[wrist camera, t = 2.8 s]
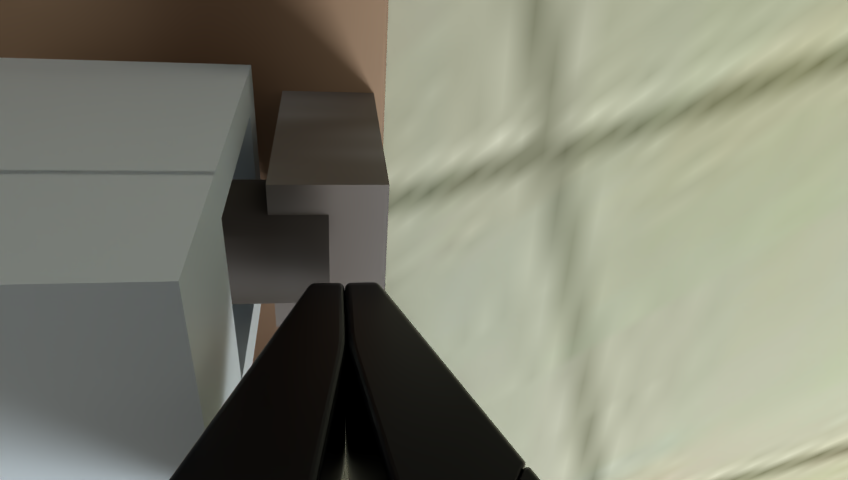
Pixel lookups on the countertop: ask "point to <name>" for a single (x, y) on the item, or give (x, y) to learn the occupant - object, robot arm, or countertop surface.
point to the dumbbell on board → (263, 123)
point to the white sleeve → (118, 262)
